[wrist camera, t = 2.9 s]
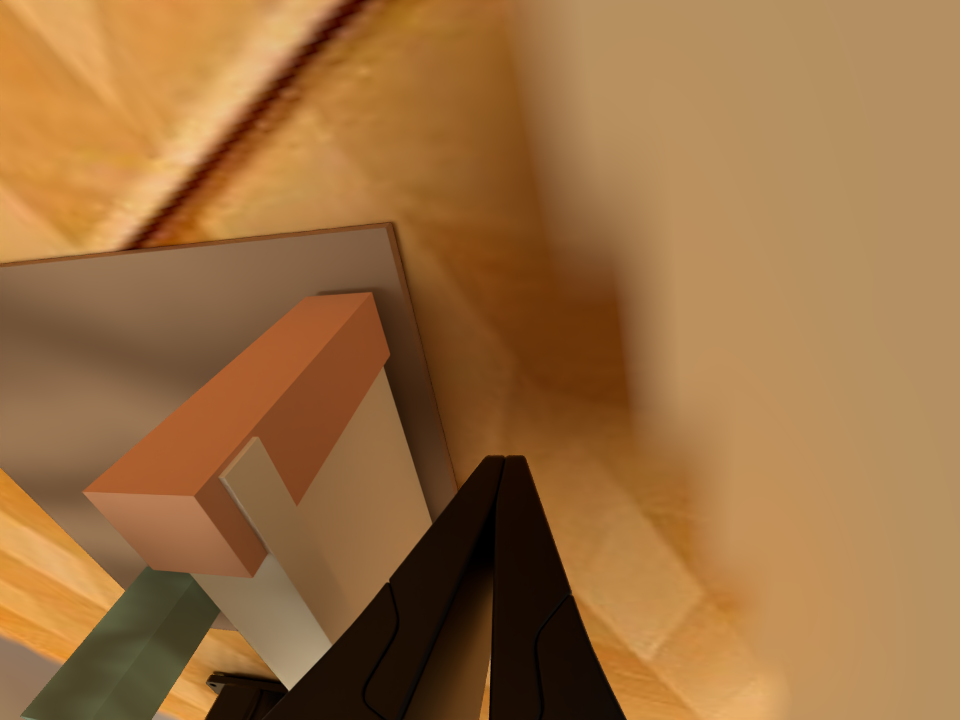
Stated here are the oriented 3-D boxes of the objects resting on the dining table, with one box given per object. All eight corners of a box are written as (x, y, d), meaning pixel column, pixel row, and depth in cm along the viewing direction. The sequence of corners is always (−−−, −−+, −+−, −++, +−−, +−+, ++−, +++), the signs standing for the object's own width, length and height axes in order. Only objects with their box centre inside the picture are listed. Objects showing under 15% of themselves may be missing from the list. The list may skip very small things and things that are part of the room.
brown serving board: (497, 651, 21) (462, 957, 14) (162, 614, 26) (-1, 835, 18) (391, 222, 10) (-35, 594, 3) (-167, 281, 15) (-915, 497, 7)
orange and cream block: (467, 609, 18) (430, 819, 13) (422, 605, 19) (368, 807, 13) (375, 291, 11) (199, 496, 6) (302, 297, 11) (75, 491, 6)
